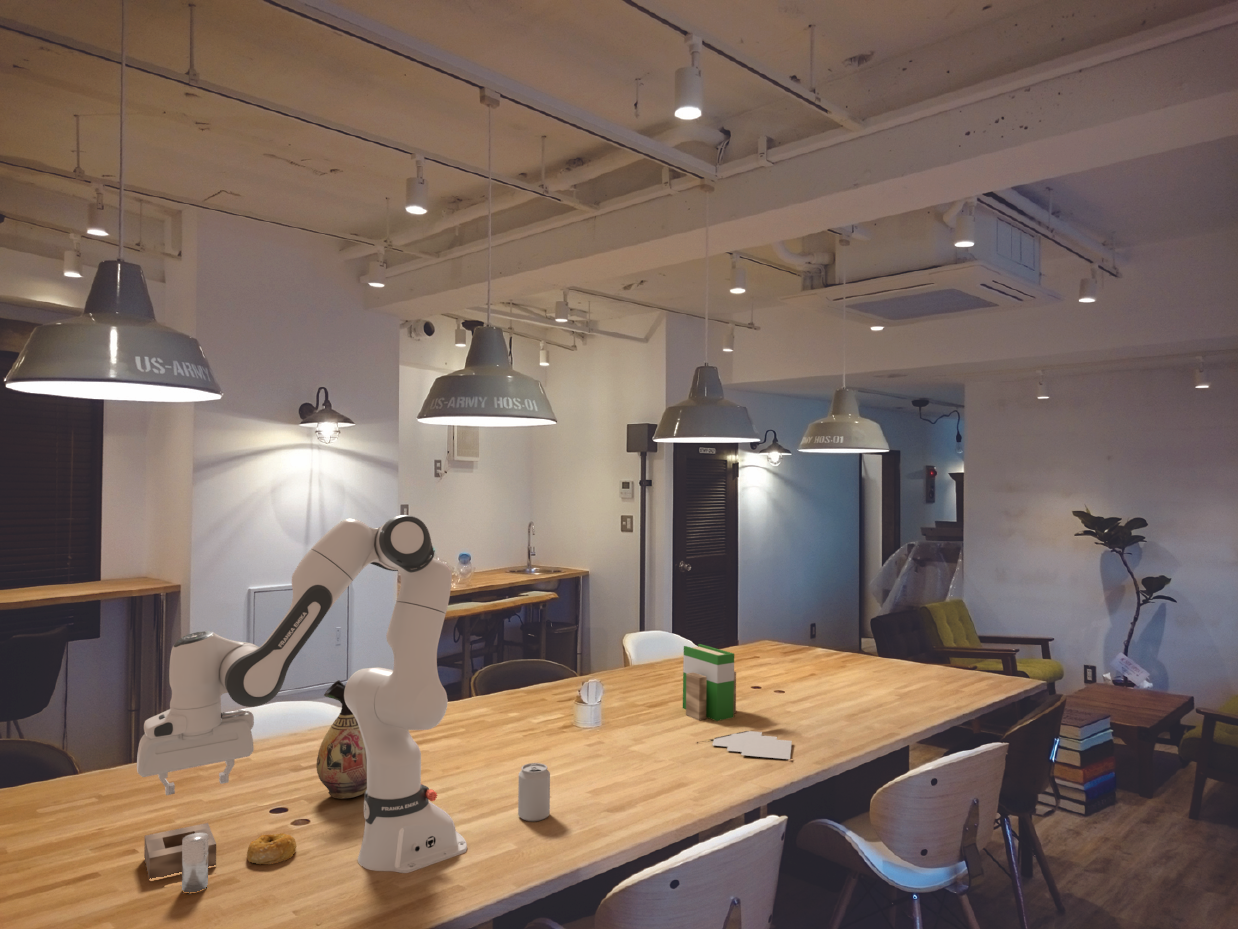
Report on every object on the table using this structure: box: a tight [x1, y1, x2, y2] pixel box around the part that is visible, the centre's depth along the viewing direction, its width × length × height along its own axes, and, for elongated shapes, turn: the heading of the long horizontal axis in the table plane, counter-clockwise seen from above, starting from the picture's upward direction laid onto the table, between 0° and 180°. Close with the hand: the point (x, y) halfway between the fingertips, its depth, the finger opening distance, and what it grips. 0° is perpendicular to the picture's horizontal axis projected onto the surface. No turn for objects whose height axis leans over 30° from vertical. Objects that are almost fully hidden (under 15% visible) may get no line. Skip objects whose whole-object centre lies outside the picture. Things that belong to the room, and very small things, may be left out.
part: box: [181, 833, 209, 893], centre depth 164 cm, size 4×4×10 cm
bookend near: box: [685, 672, 707, 721], centre depth 282 cm, size 3×7×14 cm, turn 34°
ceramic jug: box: [316, 679, 367, 799], centre depth 214 cm, size 17×15×30 cm
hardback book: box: [682, 643, 735, 722], centre depth 287 cm, size 18×7×24 cm, turn 35°
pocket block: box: [143, 822, 217, 880], centre depth 175 cm, size 12×12×5 cm
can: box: [517, 762, 551, 822], centre depth 200 cm, size 8×8×12 cm
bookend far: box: [733, 670, 737, 714], centre depth 289 cm, size 3×7×14 cm, turn 33°
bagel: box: [246, 832, 297, 865], centre depth 179 cm, size 10×11×5 cm
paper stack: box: [712, 730, 793, 760], centre depth 256 cm, size 23×25×1 cm
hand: (197, 788), depth 164 cm, fingers open, 8 cm apart
